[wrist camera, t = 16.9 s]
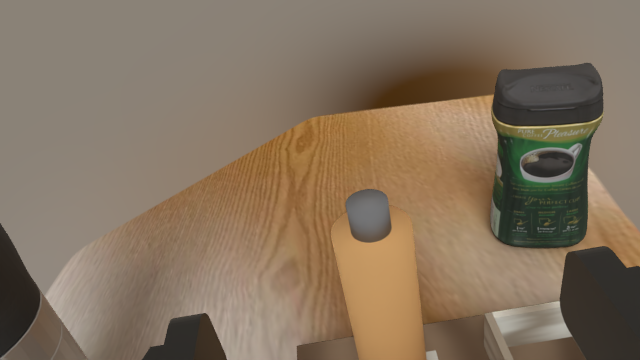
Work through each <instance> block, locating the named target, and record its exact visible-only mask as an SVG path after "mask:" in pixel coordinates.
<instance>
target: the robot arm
mask: <svg viewBox="0 0 640 360" xmlns="http://www.w3.org/2000/svg"><path fill="white" fill-rule="evenodd" d="M560 308H561V313H562V316H563V319H564V322H565V324H566V326H567V328H568V330H569V332H570V333H571V335H572V337H573V338H574V340H575V342H576V343H577V345H578V347H579V348H580V350H581V352H582V353H583V355H584V357H585V358H586V360H640V267H639V266H635V267H629V268H626V267H625V265H624V264H623V263H622V262H621V261H620V259H619V258H618V257H617V256H616V255H615V253H614V252H613V251H612V250H611V249H610V248H608V247H606V246H602V247H596V248H590V249H584V250H578V251H572V252H569V253H568V254H567V255H566V259H565V266H564V273H563V280H562V287H561V294H560ZM0 360H88V358H87V357H86V356H85V354H84V353H83V351H82V350H81V348H80V347H79V345H78V344H77V342H76V341H75V340H74V338H73V337H72V335H71V334H70V332H69V331H68V329H67V328H66V327H65V325H64V324H63V322H62V321H61V319H60V318H59V317H58V315H57V314H56V313H55V311H54V310H53V308H52V307H51V305H50V304H49V302H48V301H47V299H46V298H45V297H44V295H43V294H42V292H41V291H40V289H39V288H38V287H37V285H36V283H35V282H34V281H33V279H32V278H31V276H30V275H29V273H28V272H27V270H26V268H25V266H24V264H23V262H22V260H21V258H20V256H19V254H18V252H17V250H16V248H15V246H14V245H13V243H12V241H11V239H10V238H9V236H8V234H7V233H6V231H5V230H4V228H3V227H2V225H1V224H0ZM142 360H227V359H226V355H225V352H224V350H223V348H222V346H221V343H220V341H219V339H218V337H217V334H216V332H215V330H214V327H213V325H212V323H211V321H210V318H209V316H208V315H207V314H206V313H203V314H197V315H191V316H185V317H179V318H174V319H172V320H171V321H170V323H169V326H168V329H167V334H166V338H165V342H164V345H160V346H154V347H150V349H149V350H148V352H147V353H146V355H145V356H144V358H143V359H142Z"/></svg>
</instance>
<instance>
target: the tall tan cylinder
mask: <svg viewBox="0 0 640 360" xmlns="http://www.w3.org/2000/svg"><path fill="white" fill-rule="evenodd" d="M346 210H347V212H345V213H344V214H342V215H341V216H340V217H339V218H338V219H337V220H336V221H335V223H334V224H333V226H332V229H331V239H332V243H333V248H334V252H335V256H336V261H337V265H338V270H339V274H340V279H341V283H342V287H343V292H344V296H345V301H346V305H347V309H348V314H349V318H350V323H351V327H352V331H353V336H354V340H355V345H356V349H357V353H358V358H359V360H426V350H425V341H424V331H423V322H422V312H421V302H420V293H419V283H418V274H417V264H416V255H415V245H414V236H413V226H412V221H411V219H410V217H409V216H408V215H407V214H406V213H405V212H404V211H403V210H401V209H399V208H398V207H395V206H392V205H389V204H388V198H387V196H386V194H384V193H383V192H381V191H379V190H374V189H366V190H361V191H358V192H356V193H354V194H352V195H351V196H350V197H349V198H348V199H347V201H346Z"/></svg>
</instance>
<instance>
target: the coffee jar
mask: <svg viewBox="0 0 640 360" xmlns="http://www.w3.org/2000/svg"><path fill="white" fill-rule="evenodd" d="M603 112H604V111H603V87H602V81H601V78H600V75H599V73H598V72H597V70H596V69H595V68H594V66H592V64H591V63H584V64H579V65H571V66H557V67H544V68H532V69H522V70H507V69H506V70H501V71H500V73H499V75H498V78H497V82H496V86H495V94H494V99H493V103H492V108H491V115H492V121H493V124H494V127H495V129H496V131H497V134H498V153H497V165H496V172H495V179H494V186H493V193H492V200H491V214H490V222H491V227H492V231H493V233H494V235H495V236H496V237H497V238H498V239H499V240H500V241H502V242H503V243H505V244H508V245H511V246H518V247H530V248H556V247H568V246H572V245H575V244H577V243H579V242H580V241H581V240H582V239H583V238H584V237H585V235H586V231H587V219H588V190H587V180H588V156H589V149H590V143H591V139H592V137H593V134H594V133H595V131H596V130H597V128H598V126H599V125H600V123H601V121H602V118H603Z"/></svg>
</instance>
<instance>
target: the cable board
mask: <svg viewBox="0 0 640 360" xmlns="http://www.w3.org/2000/svg"><path fill="white" fill-rule="evenodd" d="M423 331H424V341H425V350H426V360H586V358H585V357H584V355H583V353H582V352H581V350H580V348H579V347H578V345H577V343H576V342H575V340H574V338H573V337H572V335H571V333H570V332H569V330H568V328H567V326H566V324H565V322H564V319H563V316H562V313H561V308H560V301H556V302H550V303H544V304H538V305H532V306H526V307H520V308H514V309H508V310H502V311H496V312H490V313H484V315H478V316H472V317H466V318H460V319H454V320H448V321H442V322H436V323H430V324H424V325H423ZM297 360H359V358H358V353H357V349H356V345H355V340H354V336H353V337H347V338H341V339H335V340H329V341H323V342H317V343H311V344H305V345H299V346H297Z"/></svg>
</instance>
